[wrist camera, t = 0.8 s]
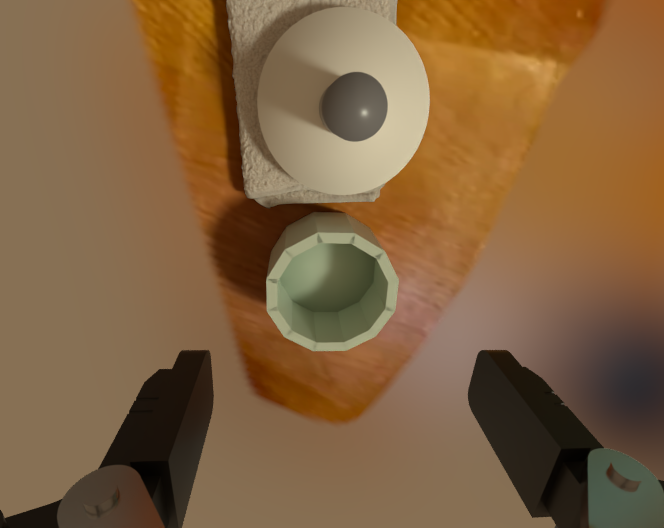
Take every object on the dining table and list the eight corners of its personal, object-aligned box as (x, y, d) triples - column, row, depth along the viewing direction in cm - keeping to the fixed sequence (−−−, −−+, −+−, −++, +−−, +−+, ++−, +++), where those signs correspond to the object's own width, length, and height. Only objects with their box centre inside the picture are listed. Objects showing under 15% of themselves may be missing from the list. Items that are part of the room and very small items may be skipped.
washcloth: (249, 204, 32) (244, 213, 29) (217, -57, 25) (207, -78, 23) (385, 196, 33) (394, 204, 30) (390, -58, 26) (401, -79, 23)
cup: (270, 210, 32) (265, 231, 26) (386, 213, 33) (404, 234, 27) (272, 314, 35) (267, 351, 30) (375, 314, 36) (390, 350, 31)
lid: (257, 3, 24) (243, -35, 18) (436, 19, 26) (480, -11, 19) (259, 188, 29) (249, 209, 23) (412, 195, 30) (441, 216, 24)
